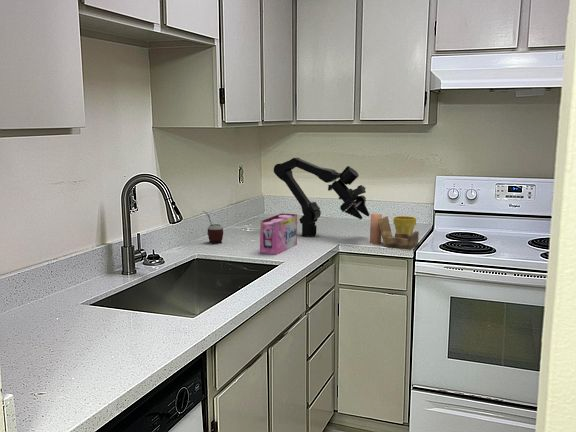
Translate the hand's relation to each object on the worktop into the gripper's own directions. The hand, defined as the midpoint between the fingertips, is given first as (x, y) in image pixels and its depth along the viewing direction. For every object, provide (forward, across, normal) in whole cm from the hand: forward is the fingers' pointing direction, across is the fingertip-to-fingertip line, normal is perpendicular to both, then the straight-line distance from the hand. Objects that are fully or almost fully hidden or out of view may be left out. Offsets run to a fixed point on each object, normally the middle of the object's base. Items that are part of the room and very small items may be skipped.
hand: (365, 217), depth 254 cm
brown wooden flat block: (+15, 0, +1) cm, 15 cm away
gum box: (-11, -32, +27) cm, 43 cm away
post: (+12, 0, +4) cm, 12 cm away
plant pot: (+18, +17, -1) cm, 25 cm away
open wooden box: (+21, 0, -4) cm, 21 cm away
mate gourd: (-32, -37, +48) cm, 69 cm away
